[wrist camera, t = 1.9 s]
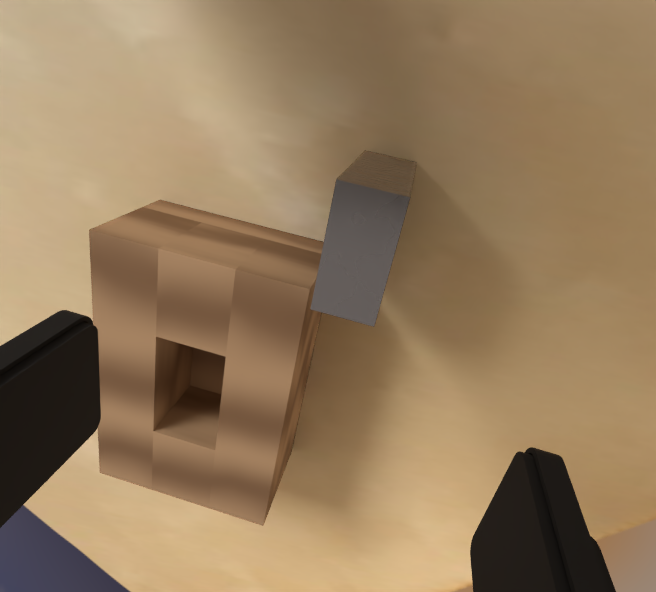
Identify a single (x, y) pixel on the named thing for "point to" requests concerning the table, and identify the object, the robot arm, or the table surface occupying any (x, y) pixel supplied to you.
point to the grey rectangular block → (362, 236)
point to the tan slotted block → (201, 353)
